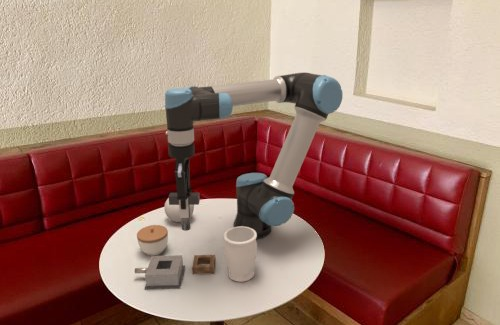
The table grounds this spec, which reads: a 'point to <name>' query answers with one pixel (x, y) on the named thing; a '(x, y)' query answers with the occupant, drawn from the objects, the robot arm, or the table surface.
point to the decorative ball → (175, 211)
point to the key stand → (203, 268)
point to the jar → (240, 252)
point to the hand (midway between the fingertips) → (185, 214)
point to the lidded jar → (153, 239)
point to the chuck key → (192, 200)
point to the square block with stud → (163, 272)
